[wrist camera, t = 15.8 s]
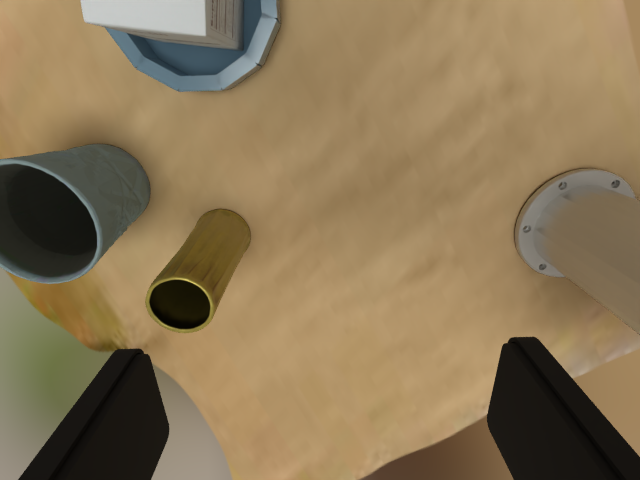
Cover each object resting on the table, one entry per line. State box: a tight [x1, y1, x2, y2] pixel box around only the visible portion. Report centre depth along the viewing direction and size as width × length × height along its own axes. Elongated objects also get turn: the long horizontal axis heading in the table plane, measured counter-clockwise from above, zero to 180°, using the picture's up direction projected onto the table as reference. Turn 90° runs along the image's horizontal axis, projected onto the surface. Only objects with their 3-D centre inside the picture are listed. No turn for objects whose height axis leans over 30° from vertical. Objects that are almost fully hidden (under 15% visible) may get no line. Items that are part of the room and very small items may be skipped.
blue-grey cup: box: [0, 144, 150, 284], centre depth 33 cm, size 10×10×12 cm
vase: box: [145, 209, 250, 333], centre depth 34 cm, size 6×6×14 cm
